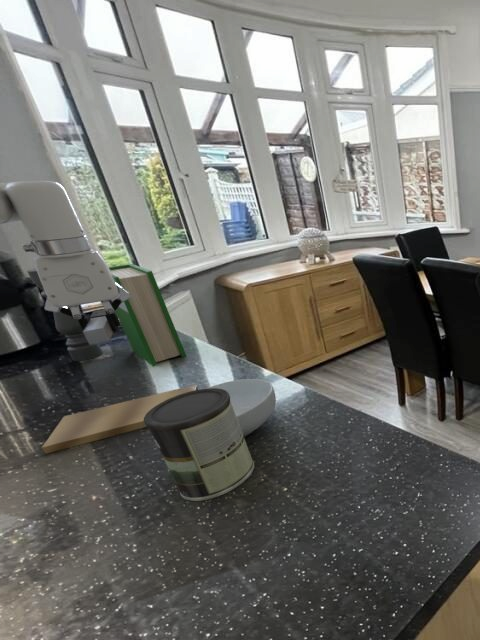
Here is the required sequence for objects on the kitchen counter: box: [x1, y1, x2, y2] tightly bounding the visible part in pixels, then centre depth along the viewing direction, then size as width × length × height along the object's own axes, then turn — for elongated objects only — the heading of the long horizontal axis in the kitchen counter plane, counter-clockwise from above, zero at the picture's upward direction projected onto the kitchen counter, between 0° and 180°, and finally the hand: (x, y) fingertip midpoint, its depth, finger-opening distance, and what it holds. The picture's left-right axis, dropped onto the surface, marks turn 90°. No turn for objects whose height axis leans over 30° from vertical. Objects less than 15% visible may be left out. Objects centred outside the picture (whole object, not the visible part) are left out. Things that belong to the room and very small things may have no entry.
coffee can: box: [144, 387, 255, 502], centre depth 62 cm, size 10×10×14 cm
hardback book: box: [108, 263, 187, 367], centre depth 106 cm, size 18×7×24 cm, turn 54°
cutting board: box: [41, 384, 199, 455], centre depth 81 cm, size 22×12×2 cm, turn 123°
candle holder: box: [26, 268, 104, 362], centre depth 106 cm, size 6×6×25 cm
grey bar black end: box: [83, 308, 114, 345], centre depth 85 cm, size 16×3×3 cm, turn 39°
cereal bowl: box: [205, 378, 277, 438], centre depth 75 cm, size 17×17×7 cm
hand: (104, 331), depth 86 cm, fingers closed on grey bar black end, 3 cm apart
